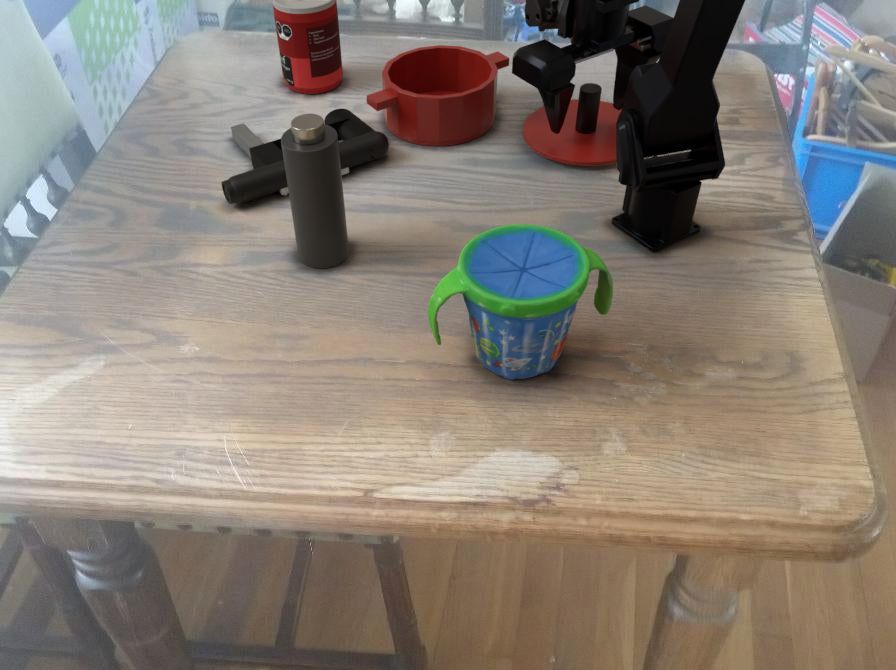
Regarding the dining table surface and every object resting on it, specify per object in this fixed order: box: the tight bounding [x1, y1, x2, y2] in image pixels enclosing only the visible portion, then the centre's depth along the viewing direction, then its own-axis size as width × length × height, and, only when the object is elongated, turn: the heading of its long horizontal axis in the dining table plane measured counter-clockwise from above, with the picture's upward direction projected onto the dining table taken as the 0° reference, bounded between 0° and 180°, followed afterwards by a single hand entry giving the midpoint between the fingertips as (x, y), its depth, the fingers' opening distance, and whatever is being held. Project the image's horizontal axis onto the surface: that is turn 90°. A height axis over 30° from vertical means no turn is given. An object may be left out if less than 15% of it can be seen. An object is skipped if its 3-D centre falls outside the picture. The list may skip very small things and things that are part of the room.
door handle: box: [221, 108, 390, 205], centre depth 100 cm, size 3×20×16 cm
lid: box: [522, 82, 622, 167], centre depth 99 cm, size 14×14×6 cm
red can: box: [272, 0, 344, 95], centre depth 110 cm, size 8×8×11 cm
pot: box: [366, 44, 510, 147], centre depth 104 cm, size 13×19×6 cm
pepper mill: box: [280, 113, 350, 269], centre depth 83 cm, size 5×5×14 cm
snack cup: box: [427, 223, 614, 381], centre depth 73 cm, size 16×10×10 cm
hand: (586, 120), depth 99 cm, fingers open, 9 cm apart
